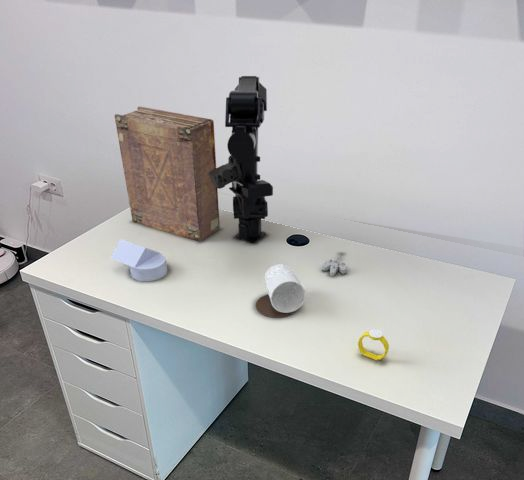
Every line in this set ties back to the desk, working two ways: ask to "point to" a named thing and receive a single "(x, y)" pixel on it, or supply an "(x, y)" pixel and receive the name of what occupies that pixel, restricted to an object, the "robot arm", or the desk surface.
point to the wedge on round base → (140, 261)
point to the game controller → (334, 266)
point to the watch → (374, 335)
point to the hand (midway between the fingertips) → (245, 218)
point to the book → (170, 171)
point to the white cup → (284, 289)
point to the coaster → (269, 308)
